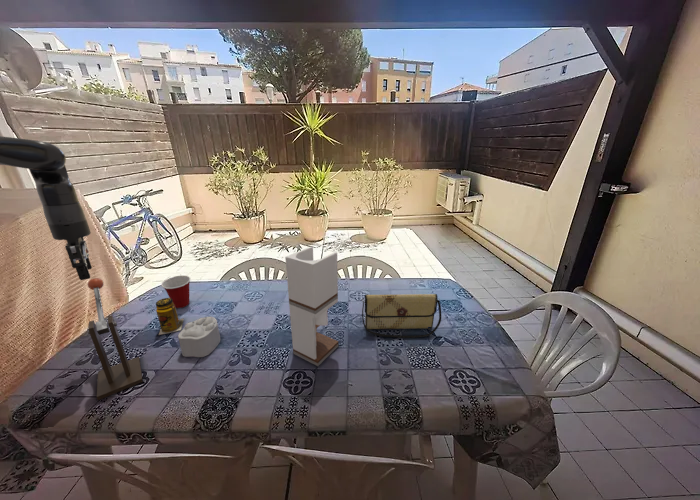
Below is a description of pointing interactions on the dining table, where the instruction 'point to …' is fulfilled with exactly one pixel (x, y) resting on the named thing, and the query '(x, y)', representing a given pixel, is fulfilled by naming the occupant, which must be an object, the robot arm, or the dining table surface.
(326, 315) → the white tall boxy piece
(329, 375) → the dining table surface
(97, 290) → the lever
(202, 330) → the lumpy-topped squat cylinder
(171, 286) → the plastic cup
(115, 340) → the bracket
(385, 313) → the clutch purse
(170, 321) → the condiment
